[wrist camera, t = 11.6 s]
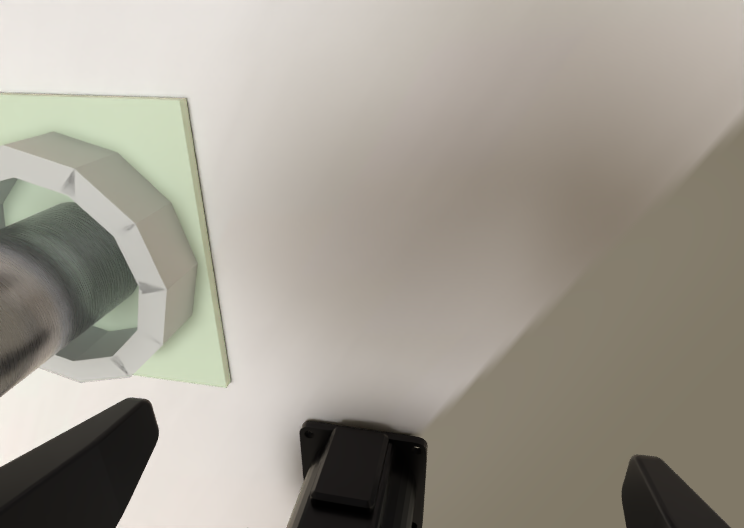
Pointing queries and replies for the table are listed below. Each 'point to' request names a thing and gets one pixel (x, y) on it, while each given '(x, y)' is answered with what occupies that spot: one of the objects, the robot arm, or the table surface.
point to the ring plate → (168, 170)
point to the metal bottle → (54, 285)
